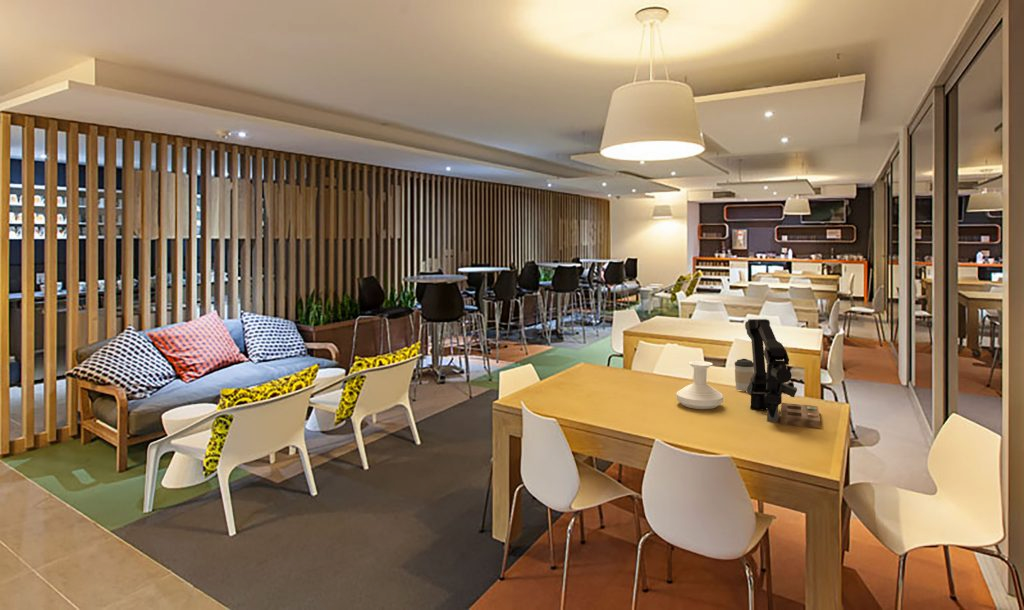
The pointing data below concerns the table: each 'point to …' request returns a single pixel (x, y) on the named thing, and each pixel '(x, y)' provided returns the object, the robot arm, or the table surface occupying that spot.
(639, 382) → the table surface
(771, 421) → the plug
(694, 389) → the candle holder
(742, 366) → the coffee cup
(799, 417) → the socket board
